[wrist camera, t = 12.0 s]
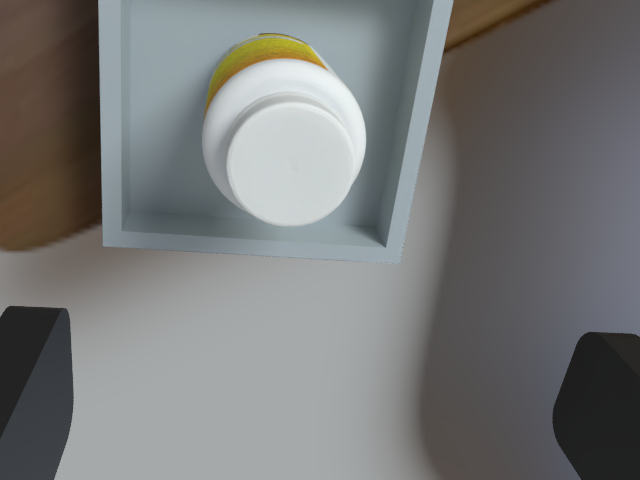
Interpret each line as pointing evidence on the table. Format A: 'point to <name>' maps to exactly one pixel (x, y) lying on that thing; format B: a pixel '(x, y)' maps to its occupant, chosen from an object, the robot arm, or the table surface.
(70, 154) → the table surface
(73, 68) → the table surface
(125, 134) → the bin
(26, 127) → the table surface
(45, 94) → the table surface
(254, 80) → the supplement bottle
